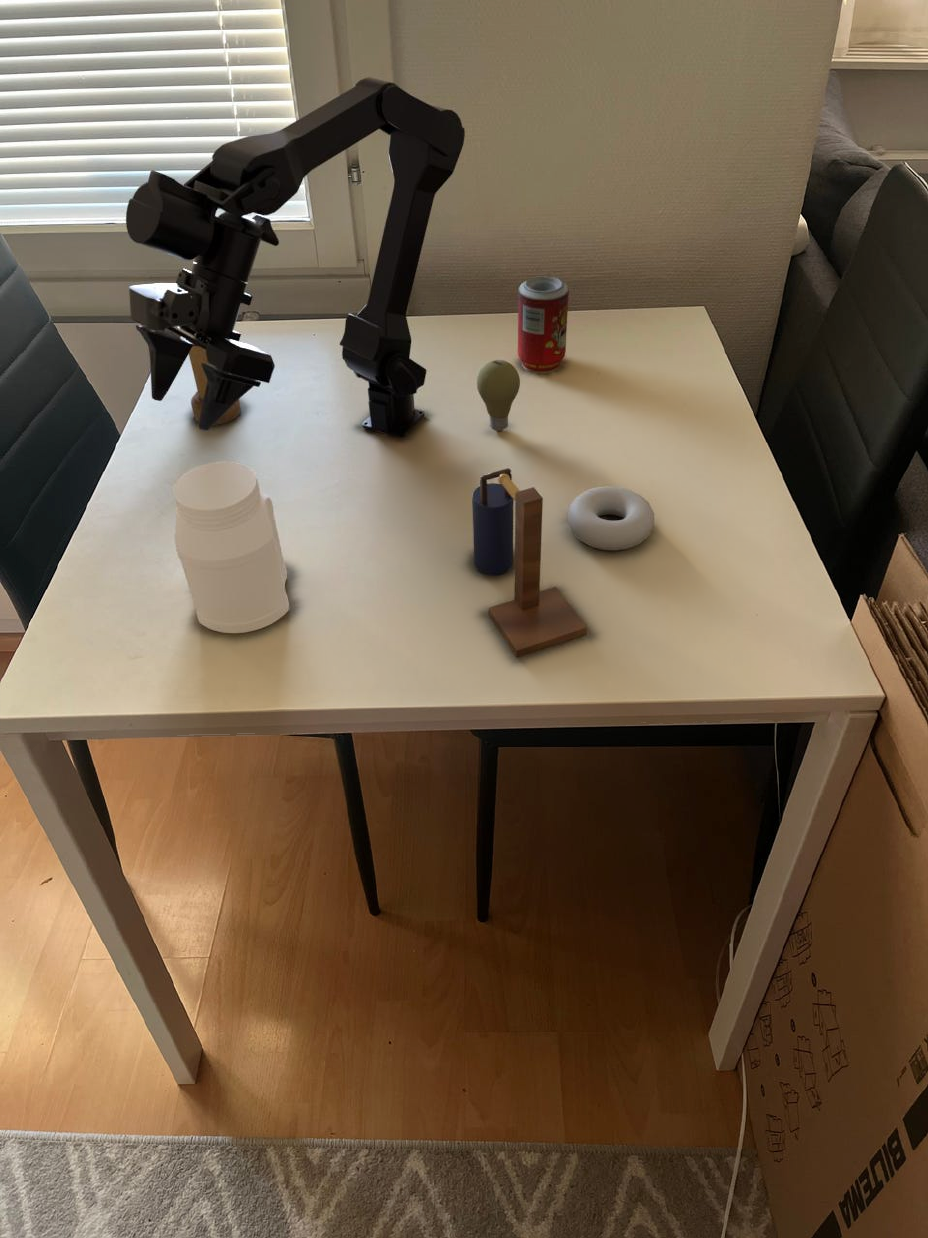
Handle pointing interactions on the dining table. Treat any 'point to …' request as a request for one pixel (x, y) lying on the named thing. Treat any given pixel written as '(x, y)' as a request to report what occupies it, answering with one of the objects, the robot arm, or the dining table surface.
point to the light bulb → (498, 391)
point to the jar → (229, 548)
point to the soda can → (542, 323)
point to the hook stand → (532, 586)
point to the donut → (611, 532)
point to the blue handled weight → (493, 526)
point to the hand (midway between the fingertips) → (179, 414)
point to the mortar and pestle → (196, 359)
